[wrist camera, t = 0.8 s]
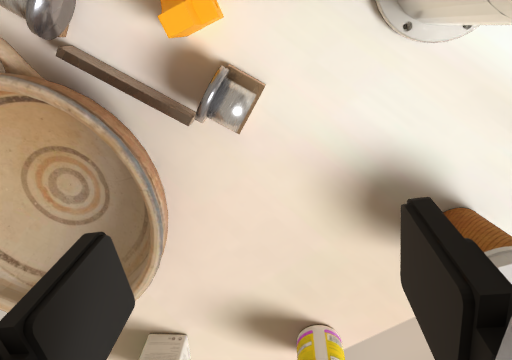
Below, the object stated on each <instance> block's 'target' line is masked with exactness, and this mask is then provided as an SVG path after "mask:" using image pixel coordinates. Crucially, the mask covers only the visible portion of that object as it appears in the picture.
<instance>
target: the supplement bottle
mask: <svg viewBox="0 0 512 360" xmlns="http://www.w3.org/2000/svg"><path fill="white" fill-rule="evenodd" d="M297 358H298V360H345V357H344V351H343V346H342V342H341V338H340V336H339V334H338V333H337V332H336V331H335V330H334V329H332V328H330V327H327V326H323V325H314V326H310V327H307V328H305V329H304V330H303V331H302V332H301V333H300V334H299V336H298V338H297Z"/></svg>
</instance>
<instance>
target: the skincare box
mask: <svg viewBox="0 0 512 360" xmlns="http://www.w3.org/2000/svg"><path fill="white" fill-rule="evenodd" d="M139 360H191V355H190V349H189V343H188V337H187V335H179V334H149V335H148V338H147V340H146V343H145V345H144V348H143V350H142V353H141V355H140V358H139Z"/></svg>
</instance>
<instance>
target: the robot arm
mask: <svg viewBox="0 0 512 360" xmlns="http://www.w3.org/2000/svg"><path fill="white" fill-rule="evenodd" d="M376 4H377V7H378V10H379V11H380V13H381V15H382V17H383V18H384V20H385V21H386V22H387V23H388V25H389V26H390V27H391V28H392V29H393V30H395V31H396V32H397V33H399V34H400V35H402V36H404V37H406V38H409V39H411V40H414V41H419V42H427V43H437V42H445V41H450V40H453V39H456V38H459V37H462V36H464V35H466V34H468V33H470V32H472V31H473V30H475V29H476V28H477V27H479V26H480V25H512V0H376ZM404 24H407V28H406V29H403V25H404ZM463 25H465V26H464V27H463ZM400 276H401V283H402V287H403V290H404V292H405V294H406V296H407V299H408V301H409V303H410V305H411V307H412V310H413V312H414V314H415V316H416V319H417V321H418V323H419V325H420V327H421V330H422V332H423V334H424V336H425V339H426V341H427V343H428V345H429V347H430V350H431V352H432V354H433V356H434V359H435V360H512V284H511V283H510V282H509V281H508V280H507V278H506V277H505V276H504V275H503V274H502V273H501V272H500V270H499V269H498V268H497V267H496V266H495V265H494V264H493V262H492V261H491V260H490V259H489V258H488V257H487V256H486V254H485V253H484V252H483V251H482V250H481V249H480V248H479V246H478V245H477V244H476V243H475V242H474V241H473V240H472V239H470V238H464V237H463V236H462V235H461V234H460V232H459V231H458V230H457V229H456V228H455V226H454V225H453V224H452V223H451V222H450V221H449V219H448V218H447V217H446V216H445V215H444V213H443V212H442V211H441V210H440V209H439V207H438V206H437V205H436V204H435V203H434V202H433V200H432V199H431V198H430V197H424V198H414V199H408V201H407V204H403V205H401V271H400ZM134 305H135V298H134V295H133V292H132V289H131V287H130V284H129V282H128V279H127V277H126V274H125V272H124V269H123V267H122V264H121V262H120V259H119V256H118V254H117V251H116V249H115V246H114V244H113V241H112V239H111V237H110V236H108V235H106V234H105V233H104V232H93V233H85V234H83V235H82V236H81V237H80V238H79V239H78V240H77V241H76V242H75V243H74V245H73V246H72V247H71V248H70V249H69V250H68V251H67V252H66V253H65V254H64V255H63V256H62V257H61V258H60V259H59V260H58V261H57V262H56V263H55V264H54V265H53V266H52V267H51V268H50V270H49V271H48V272H47V273H46V274H45V275H44V276H43V277H42V278H41V279H40V280H39V281H38V282H37V283H36V284H35V285H34V286H33V287H32V288H31V289H30V290H29V291H28V292H27V294H26V295H25V296H24V297H23V298H22V299H21V300H20V301H19V302H18V303H17V304H16V305H15V306H14V307H13V308H12V309H11V310H10V311H9V312H8V313H7V314H6V315H5V316H4V318H3V319H2V320H1V321H0V360H106V359H107V357H108V356H109V354H110V352H111V350H112V348H113V346H114V344H115V342H116V341H117V339H118V337H119V335H120V333H121V331H122V329H123V327H124V326H125V324H126V322H127V320H128V318H129V316H130V314H131V312H132V310H133V308H134Z"/></svg>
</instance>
